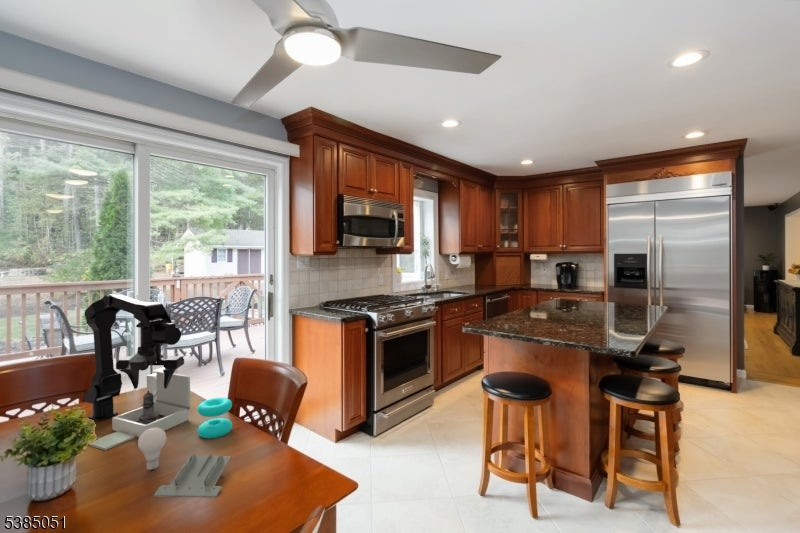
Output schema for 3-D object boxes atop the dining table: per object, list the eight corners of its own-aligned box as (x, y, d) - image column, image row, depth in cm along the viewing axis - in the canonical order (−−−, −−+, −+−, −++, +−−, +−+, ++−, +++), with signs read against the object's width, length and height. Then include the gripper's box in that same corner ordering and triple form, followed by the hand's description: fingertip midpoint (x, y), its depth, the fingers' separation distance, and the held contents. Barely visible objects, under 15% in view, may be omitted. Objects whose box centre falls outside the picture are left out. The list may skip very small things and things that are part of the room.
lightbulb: (172, 465, 104) (171, 425, 104) (150, 477, 98) (149, 435, 98) (155, 460, 106) (154, 421, 106) (132, 473, 100) (131, 431, 100)
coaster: (87, 444, 115) (87, 442, 115) (117, 432, 123) (117, 431, 123) (105, 450, 112) (105, 448, 112) (134, 437, 120) (134, 435, 120)
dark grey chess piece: (143, 431, 124) (142, 394, 124) (134, 427, 127) (134, 391, 127) (162, 424, 129) (162, 389, 129) (153, 420, 132) (153, 386, 132)
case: (112, 429, 125) (111, 384, 125) (159, 411, 140) (158, 370, 139) (145, 438, 119) (144, 391, 119) (190, 418, 134) (190, 376, 133)
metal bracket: (183, 447, 103) (238, 448, 102) (187, 464, 105) (241, 465, 104) (148, 494, 89) (212, 495, 89) (153, 513, 91) (216, 514, 91)
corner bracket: (164, 396, 155) (163, 367, 155) (187, 399, 152) (186, 369, 152) (140, 406, 145) (139, 374, 144) (164, 409, 142) (163, 377, 141)
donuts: (216, 394, 130) (238, 398, 126) (216, 423, 130) (239, 428, 126) (190, 405, 120) (213, 410, 117) (190, 436, 121) (214, 442, 117)
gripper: (104, 347, 117) (104, 398, 118) (168, 347, 119) (168, 397, 119) (126, 339, 128) (126, 385, 129) (185, 339, 130) (184, 384, 130)
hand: (150, 388), depth 127 cm, fingers open, 9 cm apart
